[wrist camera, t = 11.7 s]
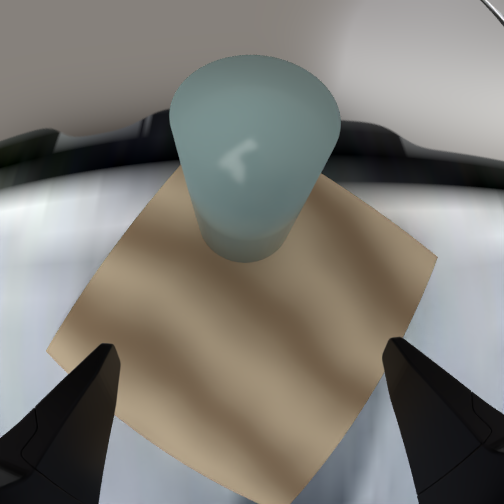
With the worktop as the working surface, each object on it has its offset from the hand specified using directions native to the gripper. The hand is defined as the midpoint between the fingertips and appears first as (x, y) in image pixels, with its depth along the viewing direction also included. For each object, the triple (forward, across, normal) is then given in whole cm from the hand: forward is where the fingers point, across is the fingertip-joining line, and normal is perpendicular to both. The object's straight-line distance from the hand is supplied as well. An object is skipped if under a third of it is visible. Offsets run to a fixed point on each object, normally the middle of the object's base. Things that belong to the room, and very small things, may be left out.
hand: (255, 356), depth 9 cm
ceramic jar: (+11, 0, 0) cm, 11 cm away
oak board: (+8, 0, +5) cm, 10 cm away
